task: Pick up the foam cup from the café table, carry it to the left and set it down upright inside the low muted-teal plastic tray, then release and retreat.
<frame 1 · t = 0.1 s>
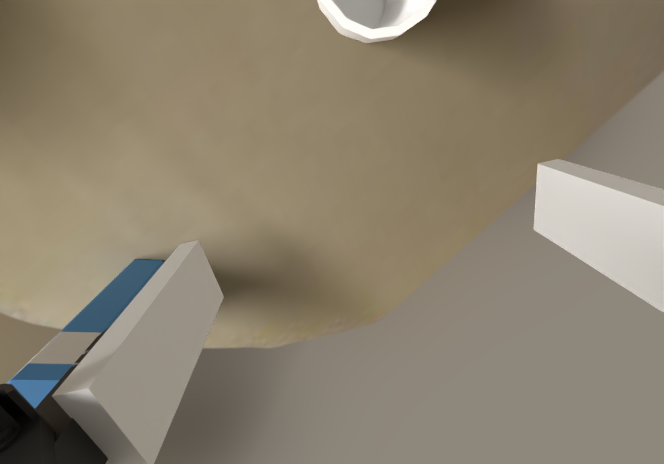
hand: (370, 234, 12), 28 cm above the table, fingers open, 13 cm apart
foam cup: (356, 3, 32), on the table
water bottle: (154, 285, 45), on the table
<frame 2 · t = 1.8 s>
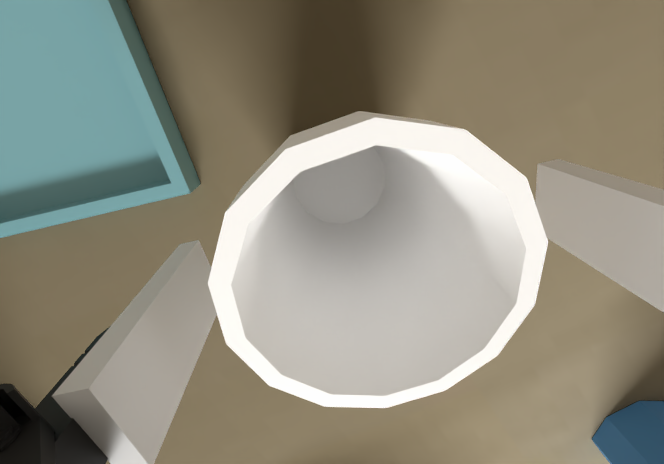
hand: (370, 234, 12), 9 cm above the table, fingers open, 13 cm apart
tray: (21, 88, 17), on the table
foam cup: (338, 177, 21), on the table
water bottle: (632, 426, 35), on the table
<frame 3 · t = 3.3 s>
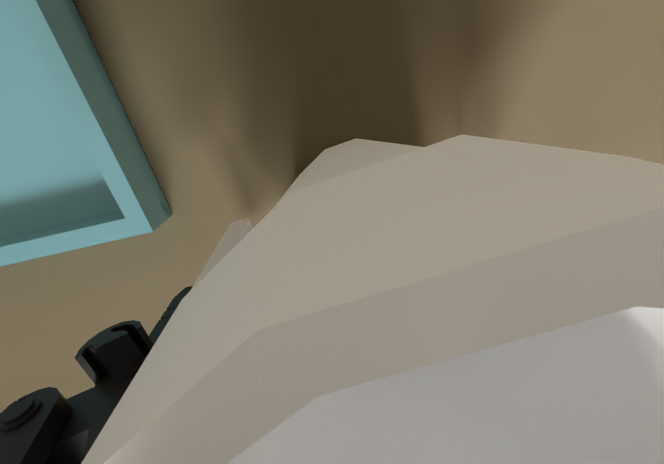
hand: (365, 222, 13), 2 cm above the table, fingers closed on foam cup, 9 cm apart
foam cup: (358, 204, 15), on the table, touching gripper
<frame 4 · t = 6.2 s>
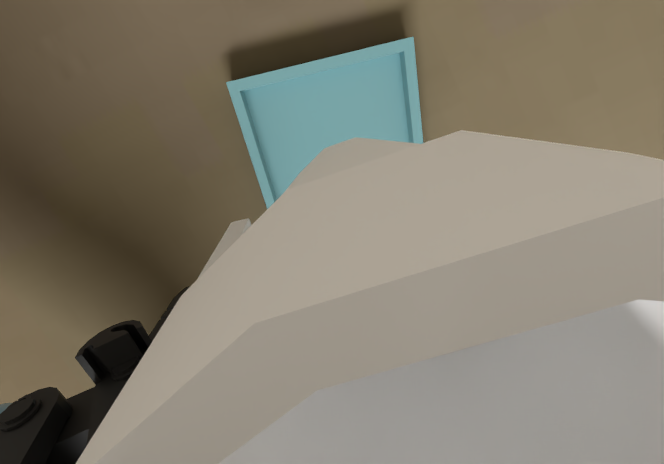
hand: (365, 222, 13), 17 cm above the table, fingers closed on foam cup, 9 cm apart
tray: (336, 150, 29), on the table
foam cup: (358, 203, 15), point 15 cm above the table, touching gripper
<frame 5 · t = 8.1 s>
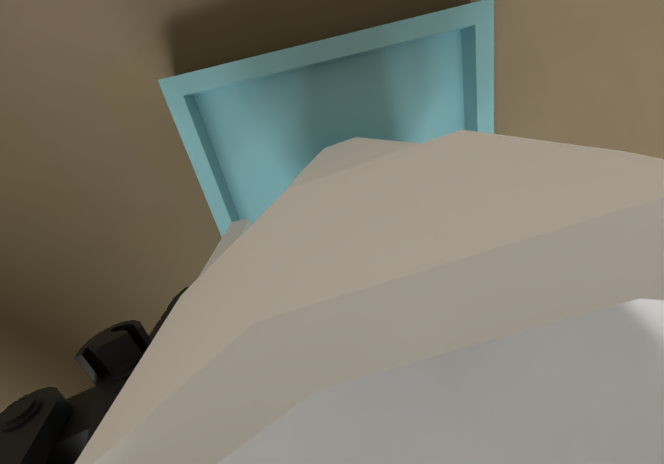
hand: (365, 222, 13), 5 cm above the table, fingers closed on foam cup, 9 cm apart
tray: (350, 188, 18), on the table
foam cup: (358, 203, 15), point 3 cm above the table, touching gripper
when the fingers open (4 cm above the table, at t = 9.4 s): foam cup drops 1 cm, resting on tray.
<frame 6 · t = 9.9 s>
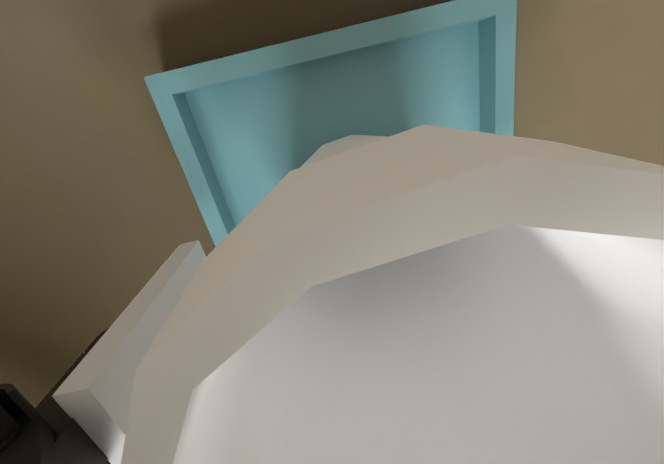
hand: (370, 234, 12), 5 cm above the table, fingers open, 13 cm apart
tray: (354, 194, 17), on the table
foam cup: (354, 196, 17), resting on tray
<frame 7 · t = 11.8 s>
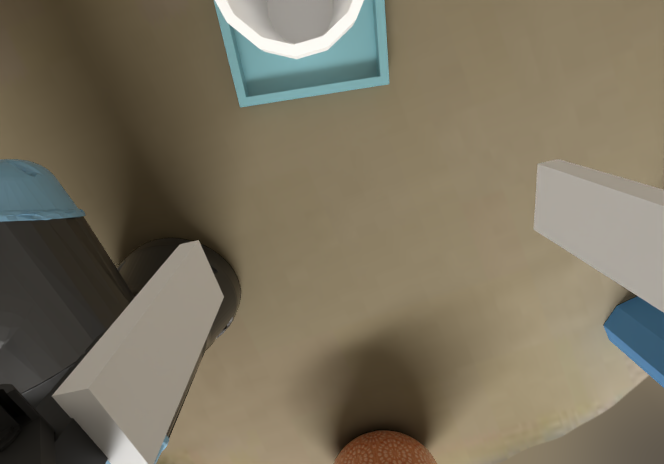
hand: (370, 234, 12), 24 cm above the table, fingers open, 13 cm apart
tray: (301, 10, 29), on the table
foam cup: (300, 9, 29), resting on tray
water bottle: (634, 318, 47), on the table
planter: (379, 449, 58), on the table
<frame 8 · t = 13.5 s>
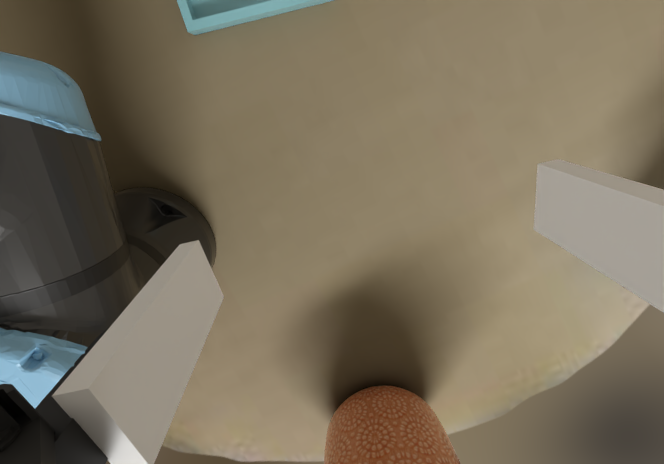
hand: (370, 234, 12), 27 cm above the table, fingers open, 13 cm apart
planter: (377, 408, 57), on the table
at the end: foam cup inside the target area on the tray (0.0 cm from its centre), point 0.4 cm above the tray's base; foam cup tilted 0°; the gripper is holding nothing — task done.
